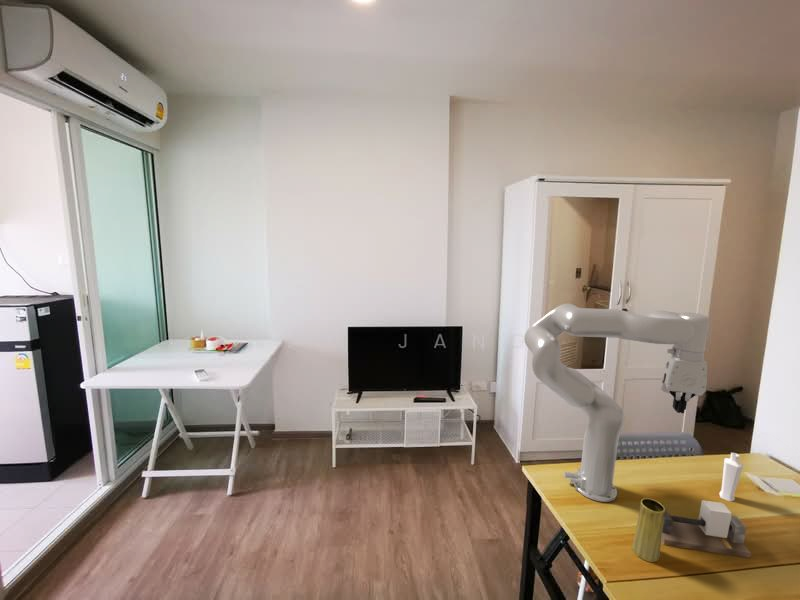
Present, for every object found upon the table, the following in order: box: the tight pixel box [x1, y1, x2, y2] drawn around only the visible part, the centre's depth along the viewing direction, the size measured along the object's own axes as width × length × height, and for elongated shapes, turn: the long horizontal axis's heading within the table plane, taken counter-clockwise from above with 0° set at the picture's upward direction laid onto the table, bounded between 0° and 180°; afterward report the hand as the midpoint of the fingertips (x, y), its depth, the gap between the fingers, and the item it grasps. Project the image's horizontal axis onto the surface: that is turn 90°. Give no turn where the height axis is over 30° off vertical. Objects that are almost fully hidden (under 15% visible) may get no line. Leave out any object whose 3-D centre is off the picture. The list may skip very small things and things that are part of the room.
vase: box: [631, 497, 666, 563], centre depth 99 cm, size 6×6×14 cm
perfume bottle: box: [718, 452, 744, 502], centre depth 121 cm, size 5×4×15 cm
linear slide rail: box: [661, 508, 752, 559], centre depth 106 cm, size 20×10×6 cm, turn 78°
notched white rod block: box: [698, 500, 733, 538], centre depth 104 cm, size 5×4×8 cm
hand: (678, 411), depth 118 cm, fingers closed
